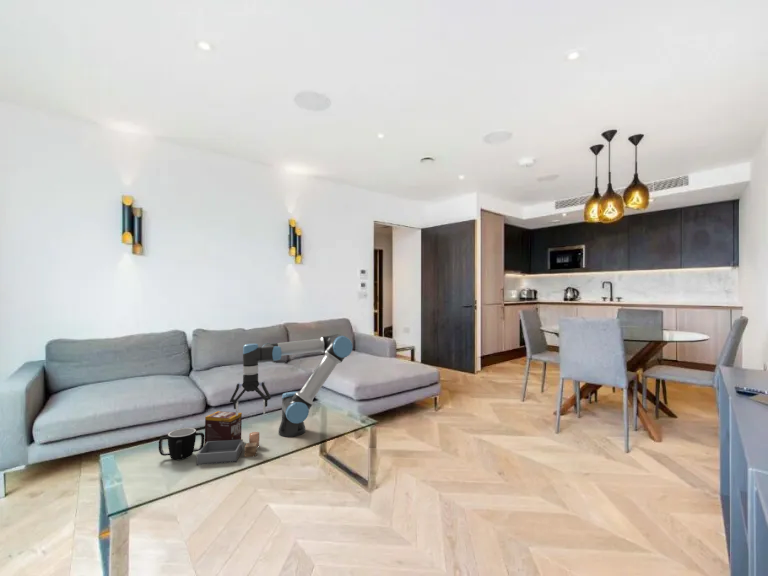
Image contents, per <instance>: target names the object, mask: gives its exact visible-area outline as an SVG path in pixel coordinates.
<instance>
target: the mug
mask: <svg viewBox="0 0 768 576" xmlns="http://www.w3.org/2000/svg"><path fill="white" fill-rule="evenodd" d="M197 436H200V445H199V447H196V446H195V445H196V440H197ZM164 440H167V447H168V451H166V452H165V451H164V450H163V441H164ZM204 444H205V433H204V432H197V429H196V428H193V427H183V428H178V429H174V430H172V431H170V432H168V433H167V436H162V437H160V438H159V440H158V452H159V454H160V456H164V457H165V456H170V459H171V460H174V461H180V460H181V461H182V460H186V459H188V458H190V457H191V456H192V455H193V453H194V452H199V451H200V450H201V449H202V447H203V446H204Z"/></svg>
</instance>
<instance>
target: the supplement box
mask: <svg viewBox="0 0 768 576" xmlns="http://www.w3.org/2000/svg"><path fill="white" fill-rule="evenodd" d="M242 415H243V412H238V416H236V411H235V412H234V411H222V410H221V411H220V410H218V411H216V412H213V413H211V414H209V415H206V416H204V417H205V418H204V419H205V421H204V445H205V443H206V442H209V441H225V440H240V439H242V425H243V424H242V423H243V422H242V420H243V418H242ZM204 445H203V446H204Z"/></svg>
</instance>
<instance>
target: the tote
mask: <svg viewBox="0 0 768 576" xmlns="http://www.w3.org/2000/svg"><path fill="white" fill-rule="evenodd" d="M204 444H205V445H203V447H202V449H201V450H199V451H197V454H196V465H197V466H202V465H203V466H204V465H205V466H206V465H216V464H219V465H220V464H229V463H237V461H238V460H239V458H240V455H241V453H242V452H243V450H244V439H242V438H241V439H240V440H225V441H209V442H206V443H205V442H204Z"/></svg>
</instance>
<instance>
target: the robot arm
mask: <svg viewBox="0 0 768 576" xmlns="http://www.w3.org/2000/svg"><path fill="white" fill-rule="evenodd" d="M353 347H354V346H353V342H352V341H351V339H350V338H349V337H347V336H345V335H341V334H338V333H337V334H332V335H331V334H330V335H325V336H320V338H314V339H305V340H303V339H302V340H295V341H285V342H277V343H270V342H269V343H265V344H263V345H262V346H261V347H260V346H259V344H258V343H246V344H244V345H243V347H242V348H243V349H242V374H243V375H242V383H240V382H238V383H236V387H235V389H234V391H233V394H232V395H231V397H230V398H229V399H230V400H229V402H230V403H232V404H233V410H235V412H236V416H238V413H239V401H238V400H239V399H240V398H241V397H242V396H243V395H244V394H245V392H247V393H249V392H256V393H257V394H258V395H259V396H260V397H261V398H262V399H263V401H262V403H263V405H262V406H263V411H262V412H263V413H262V414H263V415H264V414H266V407H268V400H271V398H272V396H271V394H270V392H269V390H268V389H267V387H266V385H265V381H263V380H262V381H261V382H259V373H258V372H259V362H270V361H271V362H272V361H275V362H276V361H279V360H281V359H282V356H283V357H284V356H290V355H300V354H310V353H317V352H321V353H324V356H323V358H321V361H320V362H319V363H318V365H317V366H316V368H314V371H313V372H312V373H311V375H310V376H309V378H308V379H307V380H306V382H305V383H304V385H303V386H302V388H301V389H300V390H299V391H288V392H284V393H282V395H281V396H282V397H281V420H280V424H279V426H278V427H279V428H278V435H279V436H281V437H287V438H289V437H297V436H301V435H303V434H305V433H306V425H305V422H304V421H305V420H306V419H307V418H308V416H309V412H310V410H311V408H312V406H313V405H314V402H313V400H314V398H315V397H316V395H317V394H318V393H319V392H320V390H321V388H322V386H324V384H325V383H326V381H327V380H328V378H329V377H330V375H331V374H332V372H333V371H334V370H335V368H336V366H337V365H338V364H342V362H343V361H344V359H345V358H348V357H349V356H350V355H351V353H352V352H353ZM259 386H260V387H261V388H262V390H263V391H264V392H262V390H261V389H260V388H259ZM241 387H242V388H243V390H242V391H240V393H239V394H238V395H237V393H238V391H239V389H241ZM236 395H237V396H236Z"/></svg>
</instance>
